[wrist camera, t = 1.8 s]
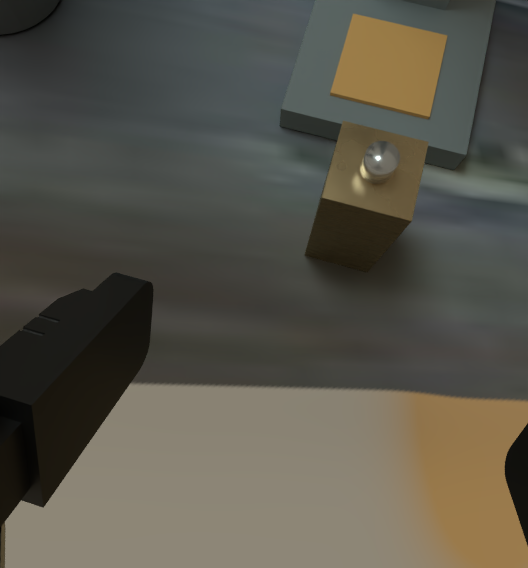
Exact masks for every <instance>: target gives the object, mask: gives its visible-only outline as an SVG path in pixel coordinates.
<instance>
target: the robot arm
mask: <svg viewBox="0 0 528 568" xmlns="http://www.w3.org/2000/svg"><path fill="white" fill-rule="evenodd" d="M59 1H60V0H0V35H1V34H11V33H15V32H19V31H22V30H25V29H28V28H30V27H32V26H34V25H36V24H37V23H39V22H40V21H42V20H43V19H45V18H46V17H47V16H48V15H49V14H50V13H51V12H52V11H53V10H54V9H55V7H56V5H57V4H58V2H59ZM152 304H153V285H152V283H151V282H148V281H145V280H141V279H138V278H134V277H130V276H127V275H123V274H120V273H113V274H112V275H110V276H109V277H108V278H107V279H106V280H105V281H103V282H102V283H101V284H100V285H99V286H98V287H97V288H96V289H95V290H93V291H90V290H86V289H81V290H79V291H76V292H74V293H71V294H69V295H66V296H64V297H61V298H59V299H57V300H56V301H55V302H53V303H52V304H51V305H50V306H49V307H47V308H46V309H45V310H44V311H42V312H41V313H40V314H39V317H38V318H37V317H35V318H34V319H33V320H31V321H30V322H29V323H28V324H27V325H25V326H24V327H23V330H22V331H20V330H19V331H18V332H17V333H16V334H14V335H13V336H12V337H11V338H9V339H8V340H7V341H6V342H5V343H3V344H2V345H1V346H0V568H5V520H6V519H7V518H8V517H9V515H10V514H11V513H12V511H13V510H14V509H15V507H16V506H17V505H18V503H19V502H20V501H21V500H22V501H25V502H29V503H31V504H34V505H37V506H40V507H44V506H45V505H46V503H47V502H48V500H49V499H50V497H51V496H52V495H53V493H54V492H55V490H56V489H57V487H58V486H59V484H60V483H61V482H62V480H63V479H64V477H65V476H66V474H67V473H68V472H69V470H70V469H71V467H72V466H73V465H74V463H75V462H76V460H77V459H78V457H79V456H80V454H81V453H82V451H83V450H84V449H85V447H86V446H87V444H88V443H89V442H90V440H91V439H92V437H93V436H94V434H95V433H96V432H97V430H98V429H99V427H100V426H101V424H102V423H103V422H104V420H105V419H106V417H107V416H108V414H109V413H110V412H111V410H112V409H113V407H114V406H115V404H116V403H117V401H118V400H119V399H120V397H121V396H122V394H123V393H124V391H125V390H126V389H127V387H128V386H129V384H130V383H131V381H132V380H133V379H134V377H135V376H136V374H137V373H138V371H139V370H140V368H141V366H142V365H143V362H144V360H145V358H146V355H147V352H148V348H149V343H150V332H151V318H152ZM505 477H506V481H507V484H508V488H509V490H510V494H511V497H512V500H513V503H514V505H515V508H516V512H517V515H518V518H519V521H520V524H521V527H522V529H523V533H524V536H525V539H526V542H527V545H528V424H527V425H526V427H525V428H524V429H523V431H522V432H521V433H520V435H519V436H518V438H517V439H516V440H515V442H514V443H513V444H512V446H511V447H510V449H509V451H508V453H507V456H506V461H505Z"/></svg>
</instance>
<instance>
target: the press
mask: <svg viewBox="0 0 528 568" xmlns="http://www.w3.org/2000/svg"><path fill="white" fill-rule="evenodd" d="M495 3H496V0H315V3H314V7H313V10H312V13H311V16H310V19H309V22H308V25H307V29H306V32H305V35H304V38H303V41H302V44H301V47H300V50H299V54H298V57H297V60H296V63H295V66H294V69H293V72H292V76H291V79H290V82H289V85H288V88H287V91H286V94H285V98H284V101H283V104H282V107H281V116H280V126H282V127H286V128H290V129H294V130H298V131H301V132H305V133H309V134H313V135H317V136H321V137H325V138H329V139H333V140H337V139H338V136H339V133H340V129H341V126H342V122H343V121H347V122H351V123H355V124H359V125H363V126H367V127H371V128H375V129H379V130H383V131H387V132H391V133H395V134H399V135H403V136H407V137H411V138H415V139H419V140H423V141H427V142H429V143H428V148H427V153H426V157H425V162H424V163H428V164H432V165H436V166H440V167H444V168H448V169H452V170H454V169H455V168H456V167H457V166H458V164H459V163H460V162H461V161H462V160H463V159H464V157H465V156H466V154H467V149H468V144H469V139H470V134H471V128H472V123H473V118H474V113H475V107H476V102H477V97H478V92H479V86H480V81H481V76H482V71H483V65H484V60H485V55H486V50H487V44H488V39H489V34H490V29H491V23H492V18H493V13H494V8H495Z"/></svg>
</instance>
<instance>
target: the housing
mask: <svg viewBox="0 0 528 568" xmlns="http://www.w3.org/2000/svg"><path fill="white" fill-rule="evenodd" d="M428 143H429V142H427V141H423V140H419V139H415V138H411V137H407V136H403V135H399V134H395V133H391V132H387V131H383V130H379V129H375V128H371V127H367V126H363V125H359V124H355V123H351V122H347V121H343V122H342V126H341V129H340V133H339V136H338V139H337V143H336V146H335V150H334V153H333V157H332V160H331V163H330V167H329V170H328V174H327V177H326V180H325V184H324V187H323V191H322V194H321V198H320V201H319V205H318V208H317V212H316V216H315V219H314V223H313V226H312V230H311V234H310V237H309V241H308V245H307V248H306V252H305V256H309V257H312V258H316V259H320V260H323V261H327V262H331V263H334V264H338V265H342V266H346V267H349V268H353V269H357V270H360V271H364V272H368V271H369V270H370V269H371V268H372V266H373V265H374V264H375V263H376V262H377V261H378V259H379V258H380V257H381V256H382V255H383V254H384V253H385V251H386V250H387V249H388V248H389V247H390V246H391V244H392V243H393V242H394V241H395V240H396V239H397V237H398V236H399V235H400V234H401V233H402V232H403V230H404V229H405V228H406V227H407V226H408V225H409V224H410V222H411V221H412V217H413V213H414V208H415V203H416V199H417V194H418V189H419V185H420V180H421V176H422V171H423V166H424V162H425V157H426V153H427V148H428Z"/></svg>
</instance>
